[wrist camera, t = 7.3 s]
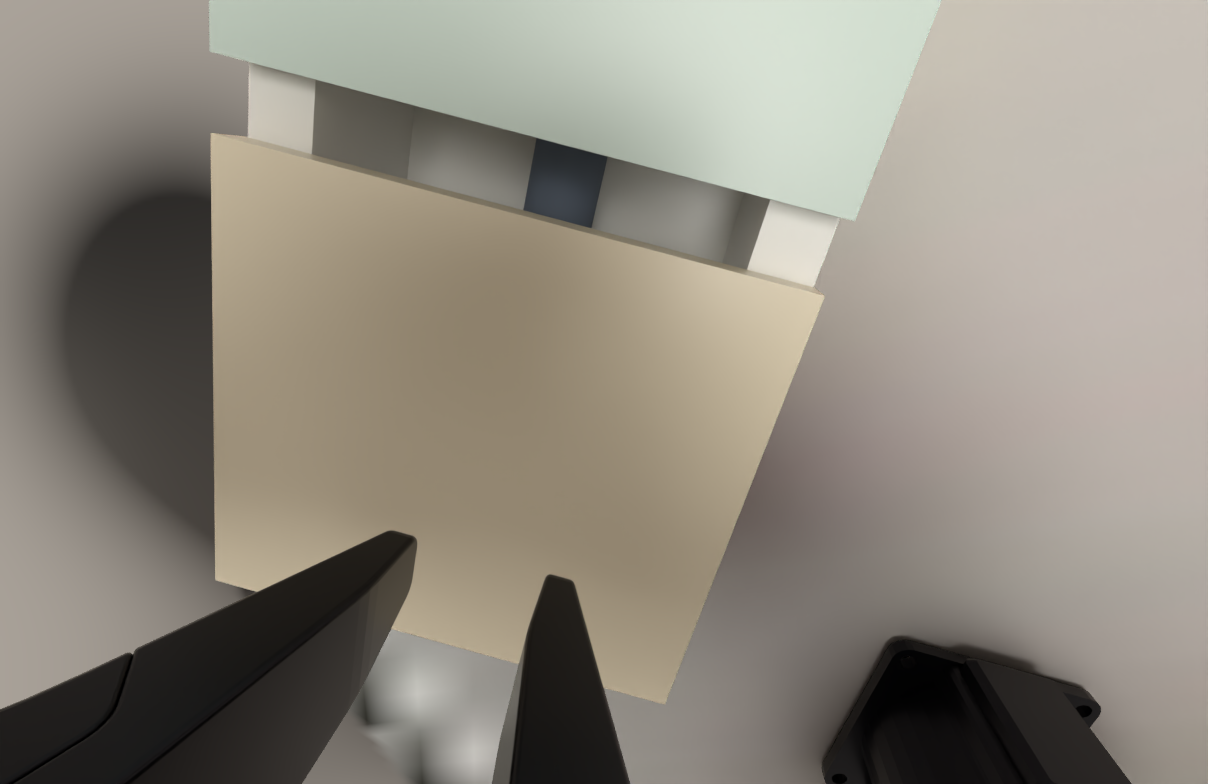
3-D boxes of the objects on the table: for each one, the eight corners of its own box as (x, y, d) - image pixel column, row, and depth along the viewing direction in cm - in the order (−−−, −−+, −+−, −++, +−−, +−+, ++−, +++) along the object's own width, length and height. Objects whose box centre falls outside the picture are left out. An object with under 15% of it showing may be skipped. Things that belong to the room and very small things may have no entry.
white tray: (692, 555, 18) (698, 685, 13) (329, 453, 18) (211, 546, 14) (1004, -294, 11) (1252, -651, 6) (395, -440, 11) (191, -884, 6)
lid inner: (665, 675, 13) (664, 704, 13) (240, 557, 14) (215, 580, 13) (813, 287, 10) (824, 296, 9) (244, 135, 10) (210, 132, 9)
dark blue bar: (539, 466, 16) (526, 495, 15) (486, 452, 16) (467, 479, 15) (703, -245, 11) (708, -313, 9) (621, -266, 11) (612, -336, 9)
